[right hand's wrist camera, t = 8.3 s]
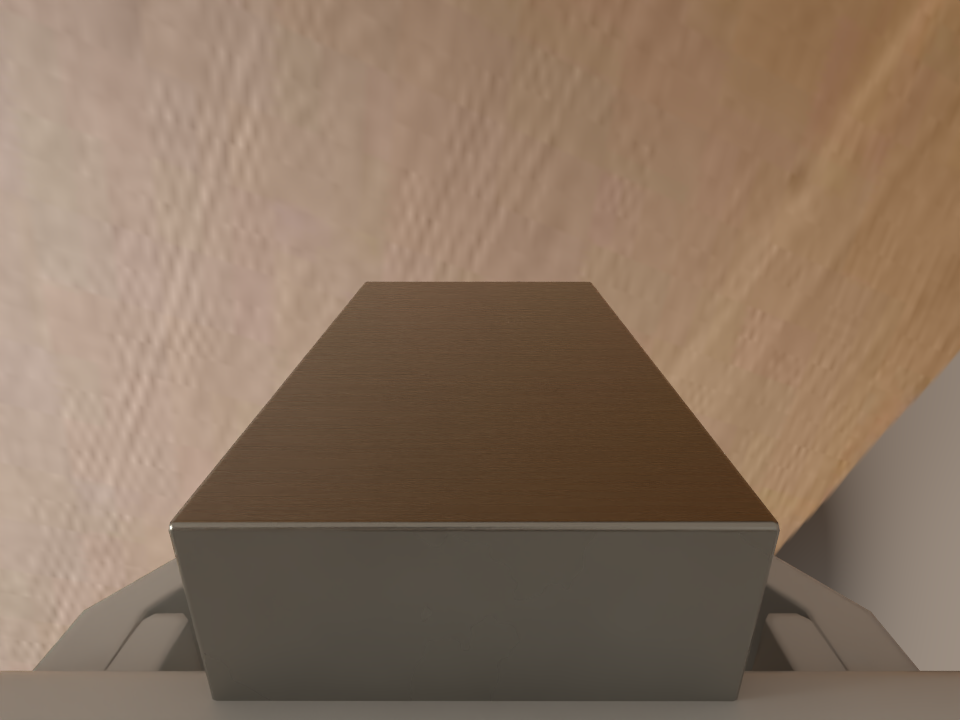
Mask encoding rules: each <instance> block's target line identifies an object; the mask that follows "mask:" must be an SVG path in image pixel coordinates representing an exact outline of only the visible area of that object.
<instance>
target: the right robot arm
mask: <svg viewBox="0 0 960 720" xmlns="http://www.w3.org/2000/svg"><path fill="white" fill-rule="evenodd" d="M0 720H960V671H919V669H918V668H917V667H916V666H915V664H914V663H913V662H912V661H911V660H910V659H909V657H908V656H907V655H906V654H905V652H904V651H903V650H902V649H901V648H900V646H899V645H898V644H897V643H896V642H895V640H894V639H893V638H892V637H891V636H890V634H889V633H888V632H887V631H886V629H885V628H884V627H883V626H882V625H881V623H880V622H879V621H878V620H877V619H876V617H875V616H874V615H873V614H872V613H871V612H870V611H869V610H867V609H865V608H863V607H862V606H860V605H858V604H857V603H855V602H853V601H851V600H850V599H848V598H846V597H844V596H843V595H841V594H839V593H838V592H836V591H834V590H832V589H831V588H829V587H827V586H826V585H824V584H822V583H820V582H819V581H817V580H815V579H813V578H812V577H810V576H808V575H807V574H805V573H803V572H801V571H800V570H798V569H796V568H795V567H793V566H791V565H789V564H788V563H786V562H784V561H782V560H781V559H779V558H777V557H776V556H774V555H773V559H772V563H771V567H770V571H769V575H768V579H767V583H766V587H765V591H764V595H763V599H762V603H761V607H760V611H759V615H758V619H757V623H756V627H755V631H754V635H753V639H752V643H751V647H750V651H749V655H748V659H747V663H746V667H745V671H744V675H743V679H742V683H741V687H740V691H739V695H738V699H737V700H735V701H216V700H213V699H212V695H211V691H210V688H209V684H208V680H207V676H206V672H205V668H204V664H203V661H202V657H201V653H200V649H199V645H198V641H197V638H196V634H195V630H194V626H193V622H192V618H191V614H190V611H189V607H188V603H187V599H186V595H185V591H184V587H183V584H182V580H181V576H180V572H179V568H178V564H177V561H176V558H175V559H173V560H171V561H170V562H168V563H166V564H164V565H163V566H161V567H159V568H157V569H156V570H154V571H152V572H150V573H149V574H147V575H145V576H143V577H142V578H140V579H138V580H136V581H135V582H133V583H131V584H129V585H128V586H126V587H124V588H122V589H121V590H119V591H117V592H115V593H114V594H112V595H110V596H108V597H107V598H105V599H103V600H102V601H100V602H98V603H96V604H95V605H93V606H91V607H89V608H88V609H86V610H84V611H83V612H82V613H81V614H80V615H79V617H78V618H77V619H76V620H75V621H74V623H73V624H72V625H71V626H70V627H69V628H68V630H67V631H66V632H65V633H64V634H63V635H62V637H61V638H60V639H59V640H58V641H57V643H56V644H55V645H54V646H53V647H52V648H51V650H50V651H49V652H48V653H47V654H46V656H45V657H44V658H43V659H42V660H41V661H40V663H39V664H38V665H37V666H36V667H35V668H34V670H33V671H0Z"/></svg>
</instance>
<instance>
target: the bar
mask: <svg viewBox="0 0 960 720" xmlns="http://www.w3.org/2000/svg"><path fill="white" fill-rule="evenodd" d="M779 531H780V530H779V525H778V522H777V521H776V519H775V518H774V517H773V515H772V514H771V513H770V512H769V510H768V509H767V508H766V506H765V505H764V504H763V503H762V501H761V500H760V499H759V497H758V496H757V495H756V494H755V492H754V491H753V490H752V488H751V487H750V486H749V485H748V483H747V482H746V481H745V479H744V478H743V477H742V476H741V474H740V473H739V472H738V471H737V469H736V468H735V467H734V465H733V464H732V463H731V462H730V460H729V459H728V458H727V456H726V455H725V454H724V453H723V451H722V450H721V449H720V447H719V446H718V445H717V444H716V442H715V441H714V440H713V438H712V437H711V436H710V435H709V433H708V432H707V431H706V429H705V428H704V427H703V426H702V424H701V423H700V422H699V420H698V419H697V418H696V417H695V415H694V414H693V413H692V411H691V410H690V409H689V408H688V406H687V405H686V404H685V402H684V401H683V400H682V399H681V397H680V396H679V395H678V393H677V392H676V391H675V390H674V388H673V387H672V386H671V384H670V383H669V382H668V381H667V379H666V378H665V377H664V376H663V374H662V373H661V372H660V370H659V369H658V368H657V367H656V365H655V364H654V363H653V361H652V360H651V359H650V358H649V356H648V355H647V354H646V352H645V351H644V350H643V349H642V347H641V346H640V345H639V343H638V342H637V341H636V340H635V338H634V337H633V336H632V334H631V333H630V332H629V331H628V329H627V328H626V327H625V325H624V324H623V323H622V322H621V320H620V319H619V318H618V316H617V315H616V314H615V313H614V311H613V310H612V309H611V307H610V306H609V305H608V304H607V302H606V301H605V300H604V298H603V297H602V296H601V295H600V293H599V292H598V291H597V289H596V288H595V287H594V286H593V284H592V283H591V282H366V283H364V285H363V286H362V287H361V288H360V290H359V291H358V292H357V293H356V294H355V296H354V297H353V298H352V299H351V301H350V302H349V303H348V304H347V305H346V307H345V308H344V309H343V310H342V312H341V313H340V314H339V315H338V317H337V318H336V319H335V320H334V321H333V323H332V324H331V325H330V326H329V328H328V329H327V330H326V331H325V333H324V334H323V335H322V336H321V337H320V339H319V340H318V341H317V342H316V344H315V345H314V346H313V347H312V349H311V350H310V351H309V352H308V353H307V355H306V356H305V357H304V358H303V360H302V361H301V362H300V363H299V365H298V366H297V367H296V368H295V369H294V371H293V372H292V373H291V374H290V376H289V377H288V378H287V379H286V380H285V382H284V383H283V384H282V385H281V387H280V388H279V389H278V390H277V392H276V393H275V394H274V395H273V396H272V398H271V399H270V400H269V401H268V403H267V404H266V405H265V406H264V408H263V409H262V410H261V411H260V412H259V414H258V415H257V416H256V417H255V419H254V420H253V421H252V422H251V424H250V425H249V426H248V427H247V428H246V430H245V431H244V432H243V433H242V435H241V436H240V437H239V438H238V440H237V441H236V442H235V443H234V444H233V446H232V447H231V448H230V449H229V451H228V452H227V453H226V454H225V456H224V457H223V458H222V459H221V460H220V462H219V463H218V464H217V465H216V467H215V468H214V469H213V470H212V471H211V473H210V474H209V475H208V476H207V478H206V479H205V480H204V481H203V483H202V484H201V485H200V486H199V487H198V489H197V490H196V491H195V492H194V494H193V495H192V496H191V497H190V499H189V500H188V501H187V502H186V503H185V505H184V506H183V507H182V508H181V510H180V511H179V512H178V513H177V515H176V516H175V517H174V518H173V519H172V521H171V522H170V525H169V534H170V537H171V541H172V545H173V549H174V553H175V557H176V561H177V564H178V568H179V572H180V576H181V580H182V584H183V587H184V591H185V595H186V599H187V603H188V607H189V611H190V614H191V618H192V622H193V626H194V630H195V634H196V638H197V641H198V645H199V649H200V653H201V657H202V661H203V664H204V668H205V672H206V676H207V680H208V684H209V688H210V691H211V695H212V699H213V700H216V701H735V700H737V699H738V695H739V691H740V687H741V683H742V679H743V675H744V671H745V667H746V663H747V659H748V655H749V651H750V647H751V643H752V639H753V635H754V631H755V627H756V623H757V619H758V615H759V611H760V607H761V603H762V599H763V595H764V591H765V587H766V583H767V579H768V575H769V571H770V567H771V563H772V559H773V555H774V551H775V547H776V543H777V539H778V535H779Z"/></svg>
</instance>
